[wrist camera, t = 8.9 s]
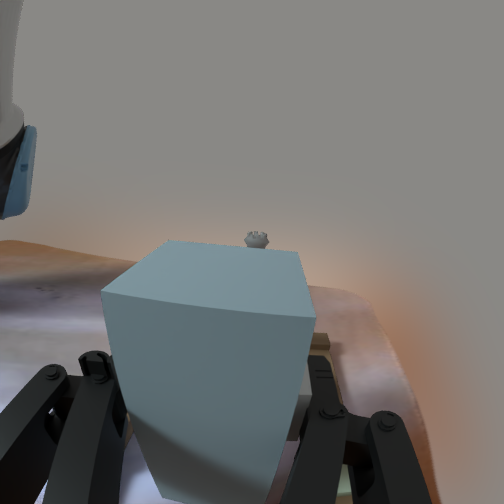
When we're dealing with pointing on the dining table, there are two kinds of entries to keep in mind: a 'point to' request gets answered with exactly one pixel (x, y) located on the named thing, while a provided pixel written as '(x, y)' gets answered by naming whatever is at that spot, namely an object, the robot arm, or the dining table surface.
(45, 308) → the dining table surface
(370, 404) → the dining table surface
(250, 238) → the rook chess piece
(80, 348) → the dining table surface
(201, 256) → the blue-grey tall rectangular block
